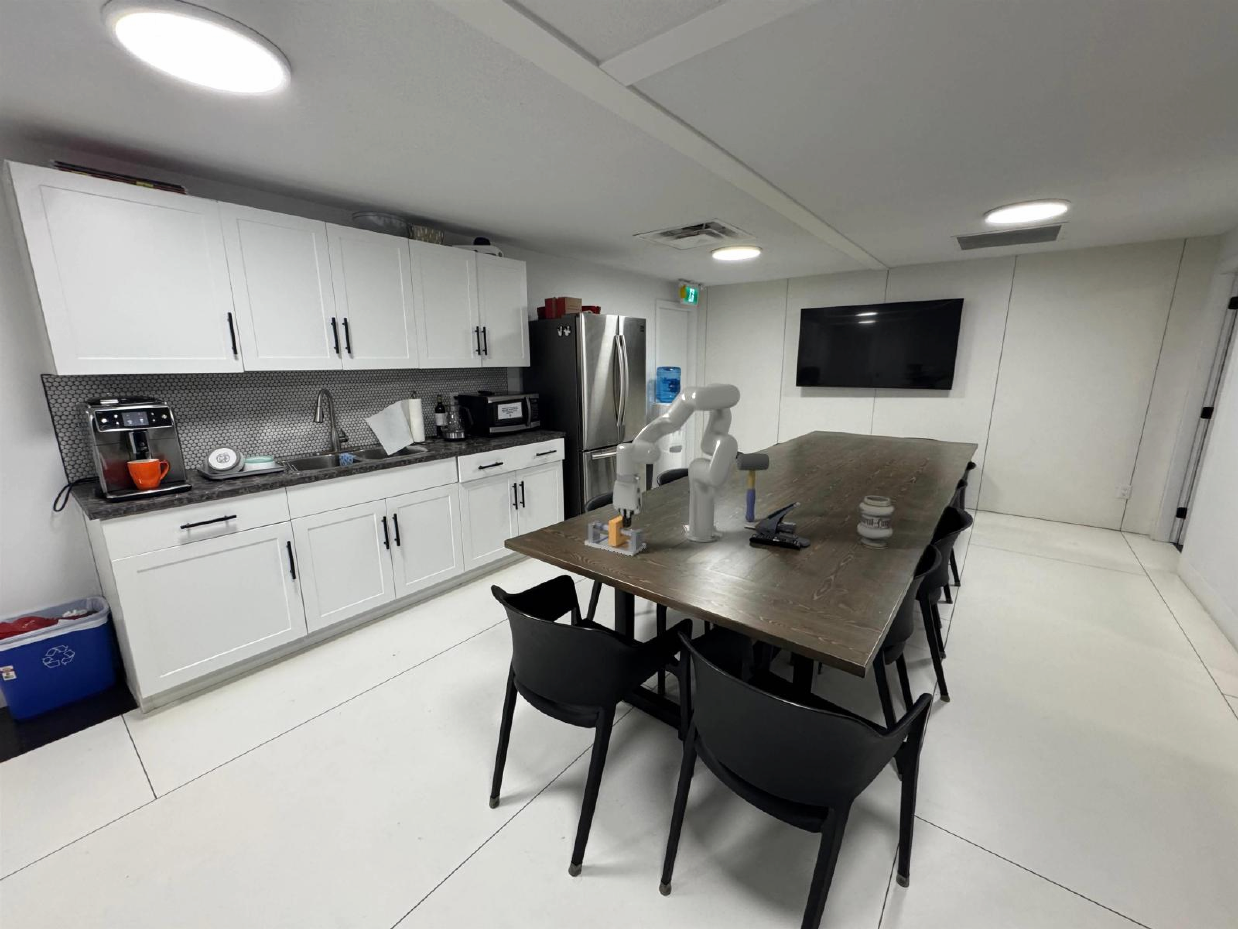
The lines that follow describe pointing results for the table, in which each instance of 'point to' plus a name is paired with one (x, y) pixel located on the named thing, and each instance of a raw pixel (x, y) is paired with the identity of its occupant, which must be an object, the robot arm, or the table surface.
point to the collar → (616, 532)
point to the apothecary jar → (875, 521)
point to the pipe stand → (603, 540)
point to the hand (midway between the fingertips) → (626, 526)
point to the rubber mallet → (752, 477)
